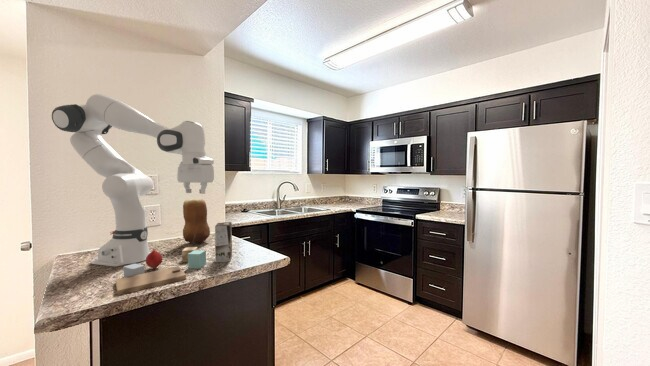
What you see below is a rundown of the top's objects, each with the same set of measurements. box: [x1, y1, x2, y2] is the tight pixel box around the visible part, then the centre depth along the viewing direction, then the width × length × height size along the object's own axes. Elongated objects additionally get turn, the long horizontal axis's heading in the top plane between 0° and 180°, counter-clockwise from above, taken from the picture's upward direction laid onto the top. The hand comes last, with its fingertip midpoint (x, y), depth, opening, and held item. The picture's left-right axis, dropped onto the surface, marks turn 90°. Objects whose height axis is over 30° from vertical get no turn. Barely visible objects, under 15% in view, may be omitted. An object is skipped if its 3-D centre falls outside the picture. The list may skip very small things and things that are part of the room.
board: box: [115, 266, 187, 296], centre depth 96 cm, size 20×12×2 cm, turn 131°
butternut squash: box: [182, 198, 211, 245], centre depth 146 cm, size 14×13×25 cm
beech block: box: [181, 246, 198, 263], centre depth 120 cm, size 5×5×5 cm
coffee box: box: [214, 221, 233, 263], centre depth 121 cm, size 9×6×16 cm
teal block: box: [187, 249, 207, 270], centre depth 111 cm, size 5×5×6 cm
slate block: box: [123, 263, 146, 278], centre depth 101 cm, size 6×4×4 cm, turn 66°
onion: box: [145, 249, 163, 270], centre depth 109 cm, size 6×6×8 cm
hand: (195, 193), depth 112 cm, fingers open, 8 cm apart
